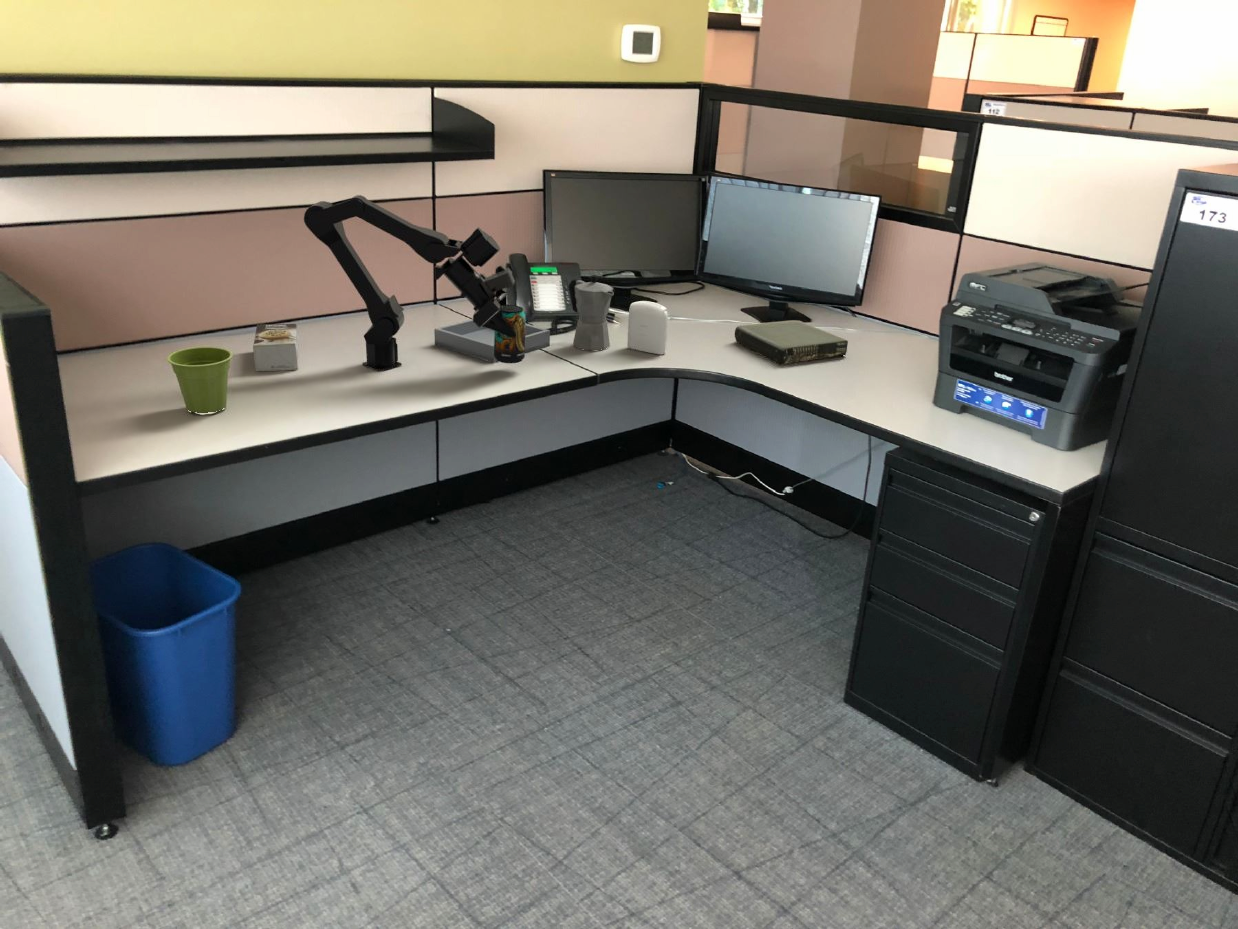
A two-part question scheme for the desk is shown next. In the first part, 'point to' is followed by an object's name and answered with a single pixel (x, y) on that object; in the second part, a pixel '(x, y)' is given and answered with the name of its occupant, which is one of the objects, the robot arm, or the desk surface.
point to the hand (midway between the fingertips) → (516, 331)
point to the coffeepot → (591, 313)
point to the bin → (484, 339)
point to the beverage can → (508, 346)
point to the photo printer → (647, 327)
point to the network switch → (790, 341)
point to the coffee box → (276, 347)
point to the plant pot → (202, 377)
